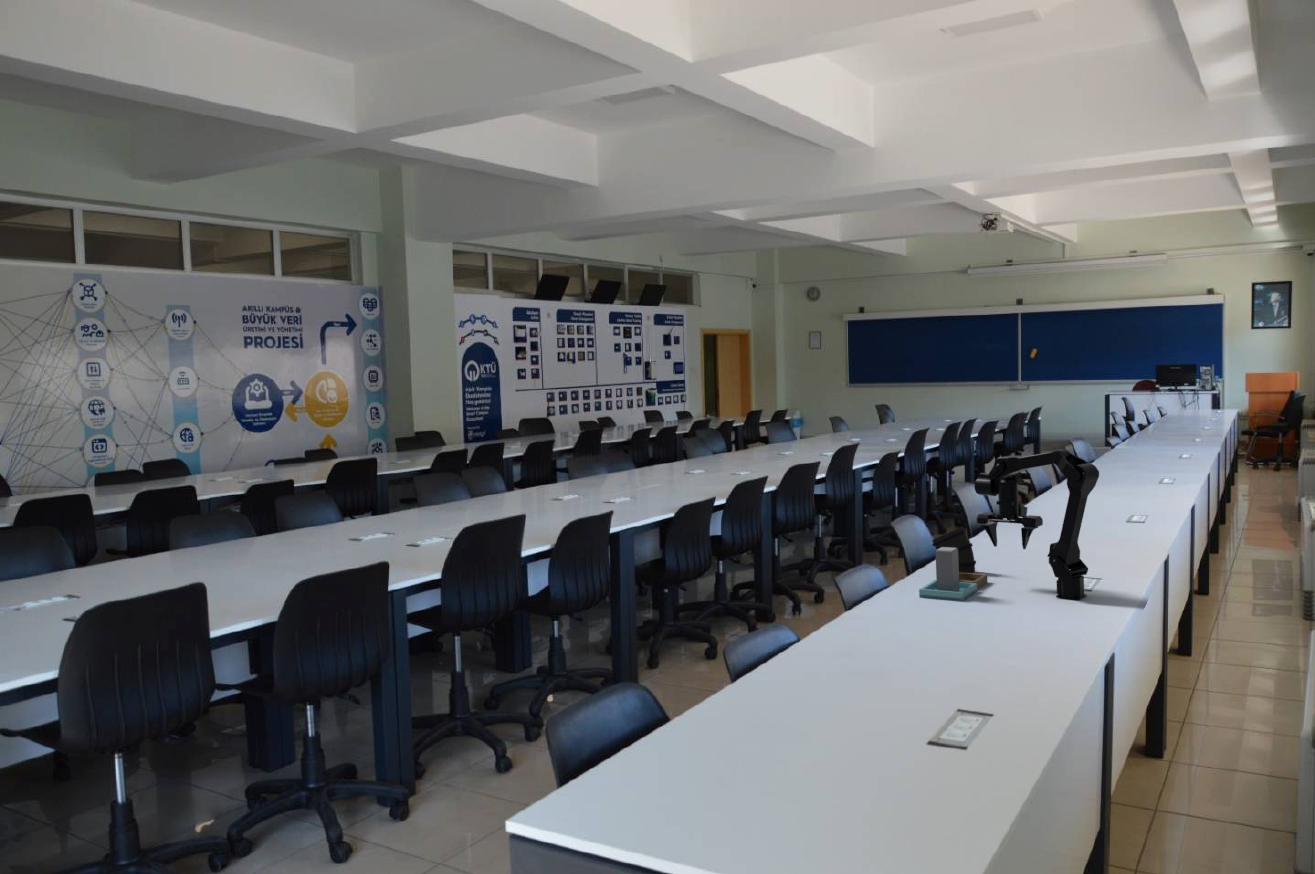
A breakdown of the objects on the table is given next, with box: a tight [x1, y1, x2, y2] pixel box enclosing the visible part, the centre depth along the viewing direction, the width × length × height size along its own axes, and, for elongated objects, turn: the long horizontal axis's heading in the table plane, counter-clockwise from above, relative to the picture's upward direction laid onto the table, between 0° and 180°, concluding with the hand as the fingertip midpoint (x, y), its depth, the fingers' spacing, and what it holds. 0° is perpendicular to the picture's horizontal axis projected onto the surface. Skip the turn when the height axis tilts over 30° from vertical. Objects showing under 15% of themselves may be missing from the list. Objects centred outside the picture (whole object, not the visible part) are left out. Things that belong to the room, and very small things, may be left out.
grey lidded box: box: [935, 547, 959, 592], centre depth 293 cm, size 5×6×13 cm
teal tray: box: [918, 579, 978, 602], centre depth 294 cm, size 13×14×2 cm
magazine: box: [931, 526, 977, 574], centre depth 324 cm, size 4×13×15 cm, turn 60°
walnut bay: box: [959, 572, 988, 590], centre depth 304 cm, size 11×12×8 cm
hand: (1009, 547), depth 298 cm, fingers open, 9 cm apart
